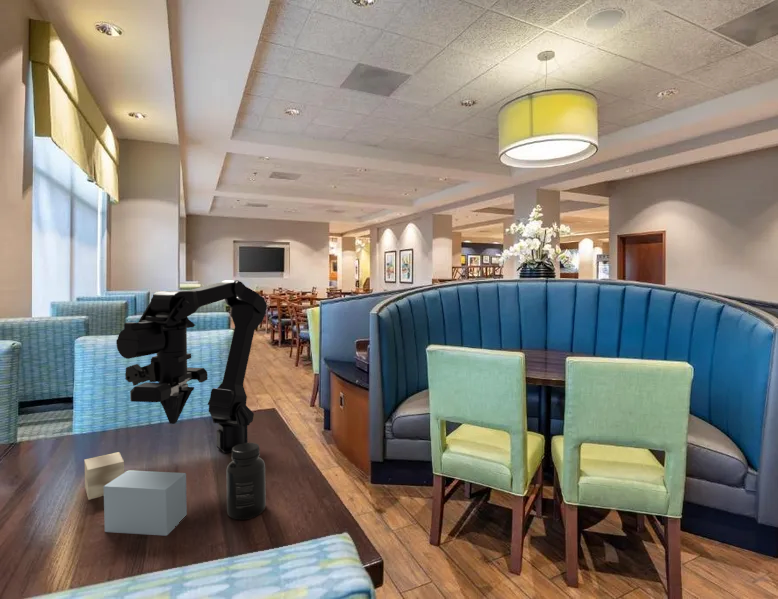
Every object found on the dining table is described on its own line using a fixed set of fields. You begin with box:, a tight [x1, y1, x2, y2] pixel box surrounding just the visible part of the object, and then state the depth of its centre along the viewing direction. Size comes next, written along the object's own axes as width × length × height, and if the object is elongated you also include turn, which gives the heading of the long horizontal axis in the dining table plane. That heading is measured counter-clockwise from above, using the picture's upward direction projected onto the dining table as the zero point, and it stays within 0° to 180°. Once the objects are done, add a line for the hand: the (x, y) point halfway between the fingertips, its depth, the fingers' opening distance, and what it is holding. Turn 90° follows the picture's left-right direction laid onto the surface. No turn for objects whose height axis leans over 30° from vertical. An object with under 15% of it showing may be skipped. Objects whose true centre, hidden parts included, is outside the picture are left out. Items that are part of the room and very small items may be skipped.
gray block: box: [103, 469, 188, 537], centre depth 74 cm, size 6×11×8 cm, turn 85°
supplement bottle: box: [225, 442, 267, 521], centre depth 79 cm, size 7×7×12 cm
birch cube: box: [84, 451, 125, 501], centre depth 86 cm, size 6×6×6 cm
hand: (173, 423), depth 91 cm, fingers closed
